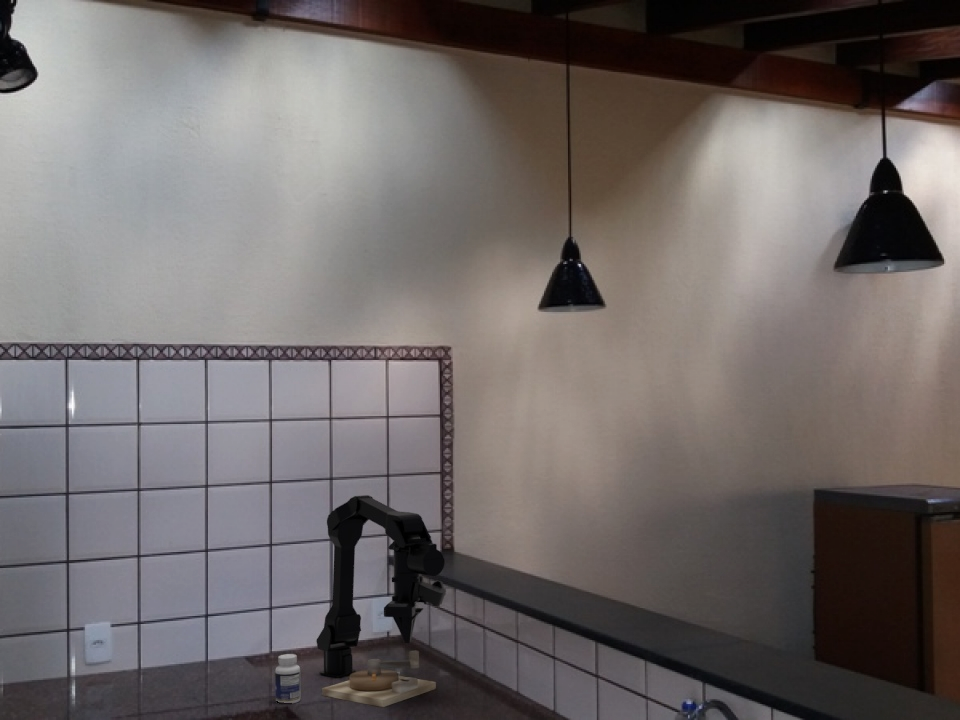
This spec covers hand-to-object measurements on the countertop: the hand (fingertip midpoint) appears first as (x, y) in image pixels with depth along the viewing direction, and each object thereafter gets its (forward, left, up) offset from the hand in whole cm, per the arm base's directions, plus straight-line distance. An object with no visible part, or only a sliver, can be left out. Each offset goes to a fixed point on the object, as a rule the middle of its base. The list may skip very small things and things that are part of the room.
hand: (407, 642), depth 233 cm
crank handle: (-8, +1, -10) cm, 13 cm away
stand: (-8, 0, -12) cm, 15 cm away
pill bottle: (-20, -17, -12) cm, 29 cm away
